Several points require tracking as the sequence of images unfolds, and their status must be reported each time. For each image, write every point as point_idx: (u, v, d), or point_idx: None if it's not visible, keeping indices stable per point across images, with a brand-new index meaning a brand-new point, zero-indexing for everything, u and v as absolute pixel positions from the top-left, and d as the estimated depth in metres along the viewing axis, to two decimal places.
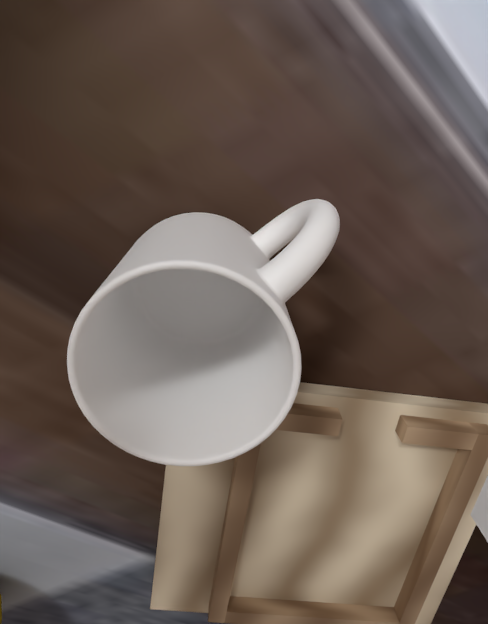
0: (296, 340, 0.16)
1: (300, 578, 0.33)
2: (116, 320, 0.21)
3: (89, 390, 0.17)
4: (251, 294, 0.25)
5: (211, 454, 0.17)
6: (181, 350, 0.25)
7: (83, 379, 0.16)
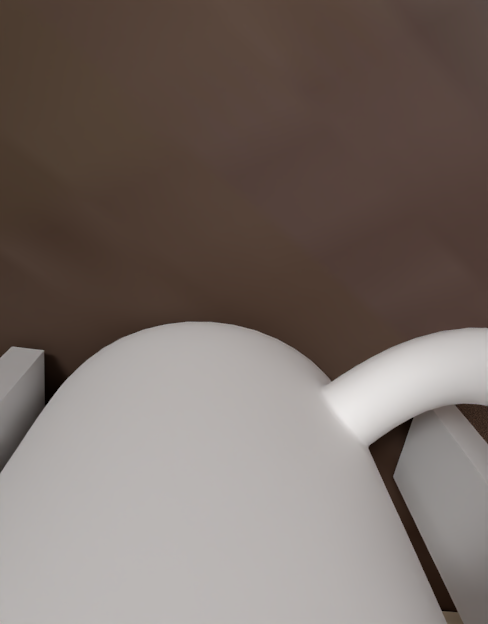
0: None
1: None
2: None
3: None
4: None
5: None
6: None
7: None
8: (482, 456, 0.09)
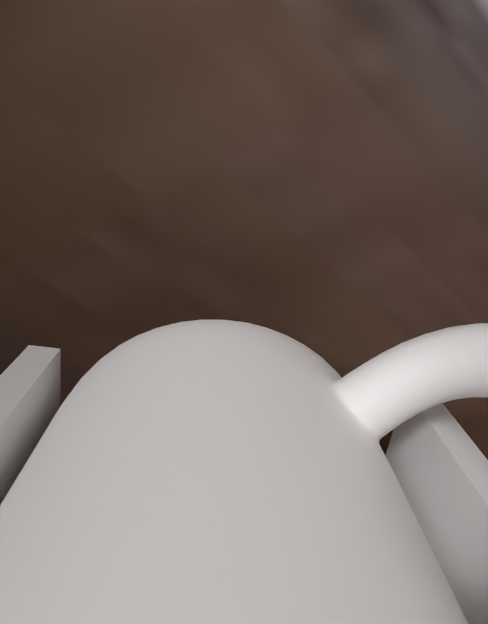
0: None
1: None
2: None
3: None
4: None
5: None
6: None
7: None
8: (463, 449, 0.10)
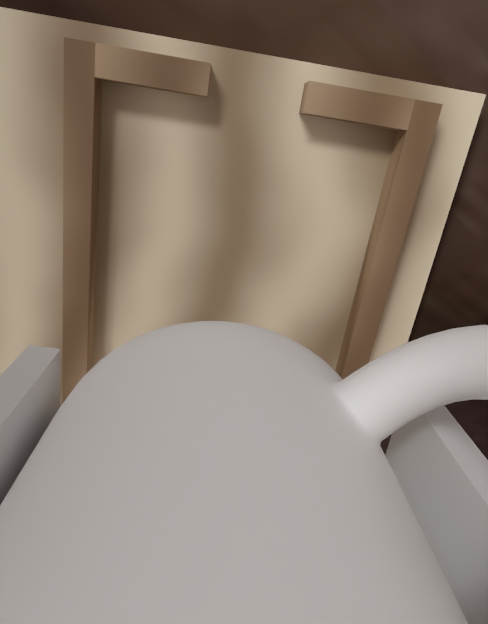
0: None
1: None
2: None
3: None
4: None
5: None
6: None
7: None
8: (463, 449, 0.10)
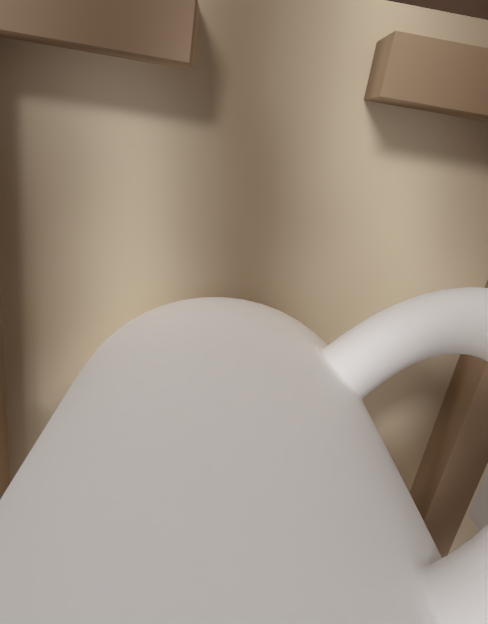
0: None
1: None
2: None
3: None
4: None
5: None
6: None
7: None
8: None
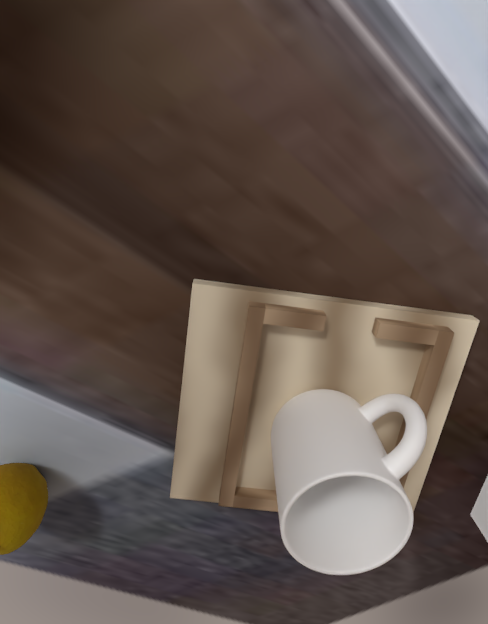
0: (411, 507, 0.27)
1: None
2: None
3: (286, 533, 0.29)
4: None
5: (357, 567, 0.29)
6: None
7: (285, 528, 0.28)
8: None
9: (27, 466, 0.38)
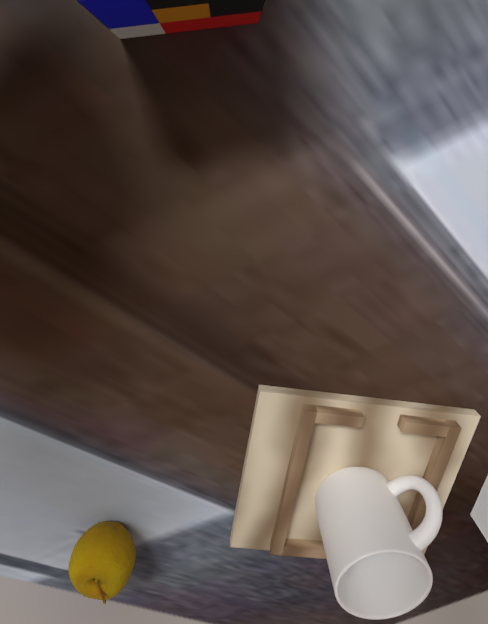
0: (431, 572, 0.37)
1: None
2: None
3: (337, 590, 0.38)
4: None
5: (389, 613, 0.39)
6: None
7: None
8: None
9: (118, 525, 0.47)
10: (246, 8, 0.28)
